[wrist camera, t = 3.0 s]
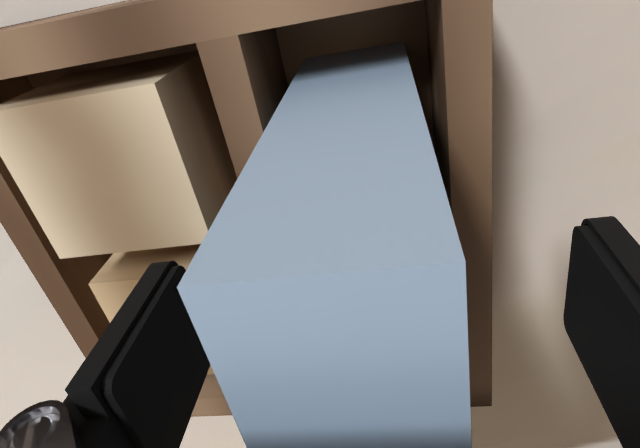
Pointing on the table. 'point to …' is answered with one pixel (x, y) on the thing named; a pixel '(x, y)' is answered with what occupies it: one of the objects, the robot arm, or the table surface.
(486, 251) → the rack
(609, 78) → the table surface
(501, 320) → the table surface
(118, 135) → the offcut
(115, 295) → the offcut
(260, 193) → the panel
